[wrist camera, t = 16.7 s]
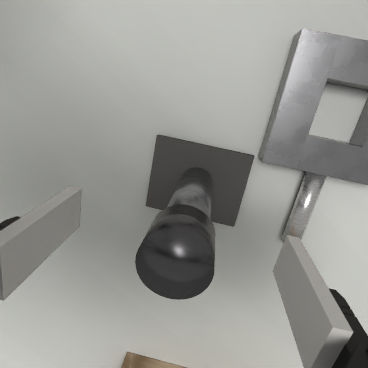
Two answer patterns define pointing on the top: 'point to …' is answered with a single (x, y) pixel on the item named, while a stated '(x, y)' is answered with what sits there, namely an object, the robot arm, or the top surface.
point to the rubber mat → (206, 159)
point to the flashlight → (181, 241)
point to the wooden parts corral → (145, 362)
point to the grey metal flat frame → (304, 113)
